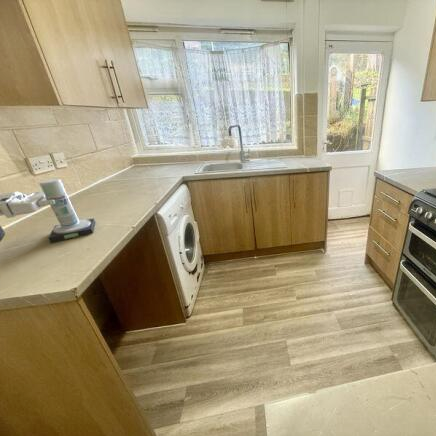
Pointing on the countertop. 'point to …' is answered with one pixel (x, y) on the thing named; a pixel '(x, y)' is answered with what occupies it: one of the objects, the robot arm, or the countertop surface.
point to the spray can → (60, 202)
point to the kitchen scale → (72, 231)
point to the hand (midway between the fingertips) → (59, 197)
